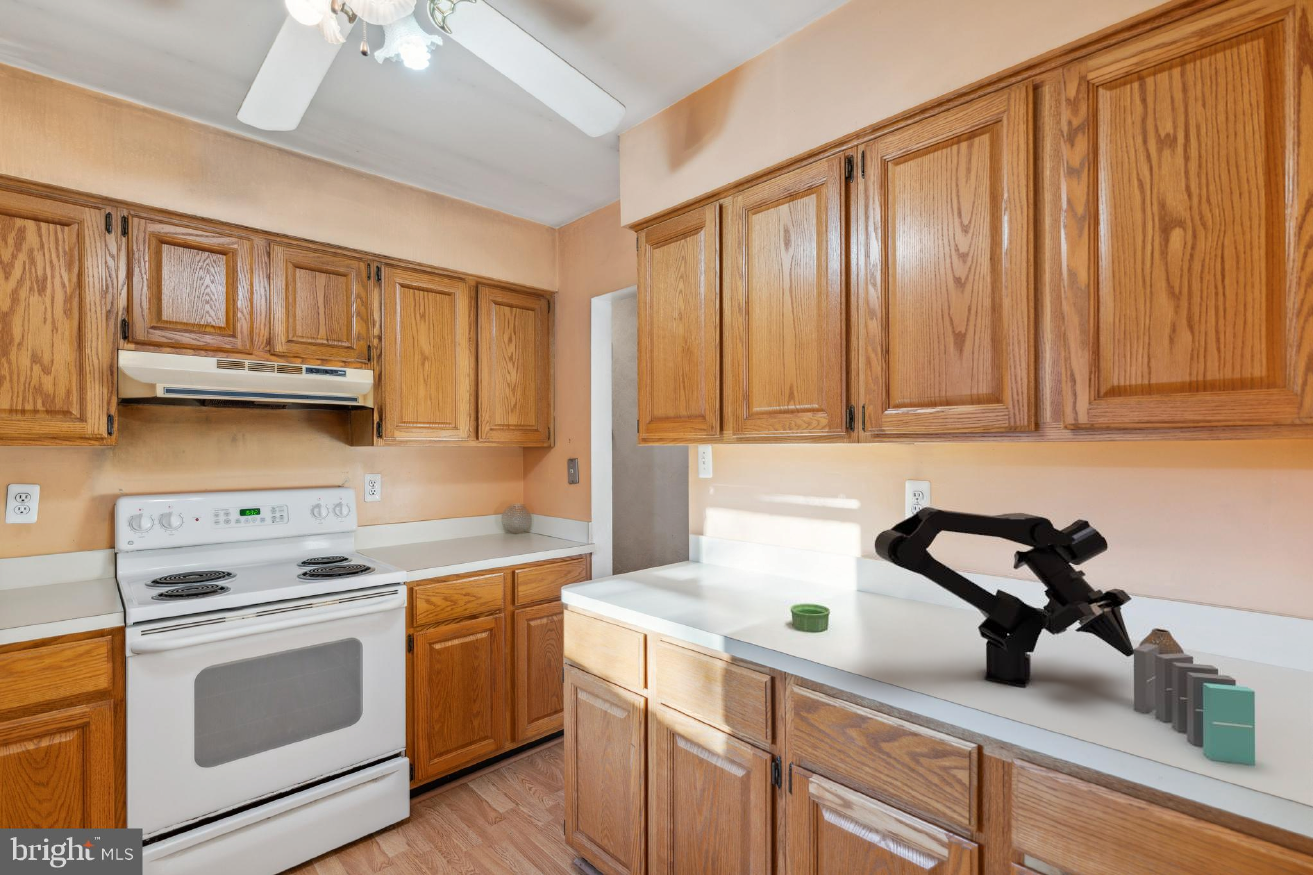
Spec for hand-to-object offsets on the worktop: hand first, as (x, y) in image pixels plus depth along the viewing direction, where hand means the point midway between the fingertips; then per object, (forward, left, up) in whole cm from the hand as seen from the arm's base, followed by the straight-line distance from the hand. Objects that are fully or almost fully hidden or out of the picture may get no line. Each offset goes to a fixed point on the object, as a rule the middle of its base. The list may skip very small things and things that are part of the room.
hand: (1131, 655), depth 100 cm
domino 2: (+5, -3, -8) cm, 10 cm away
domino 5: (+10, -14, -8) cm, 19 cm away
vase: (+5, +16, -8) cm, 19 cm away
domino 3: (+7, -7, -8) cm, 13 cm away
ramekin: (-59, +8, -8) cm, 60 cm away
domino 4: (+9, -10, -8) cm, 16 cm away
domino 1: (+2, -1, -8) cm, 8 cm away
